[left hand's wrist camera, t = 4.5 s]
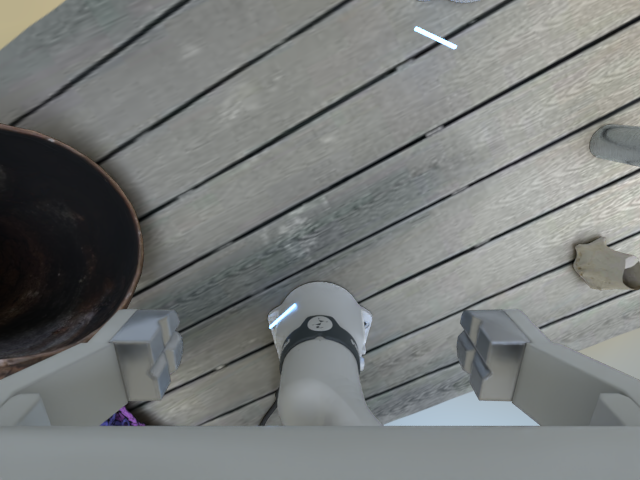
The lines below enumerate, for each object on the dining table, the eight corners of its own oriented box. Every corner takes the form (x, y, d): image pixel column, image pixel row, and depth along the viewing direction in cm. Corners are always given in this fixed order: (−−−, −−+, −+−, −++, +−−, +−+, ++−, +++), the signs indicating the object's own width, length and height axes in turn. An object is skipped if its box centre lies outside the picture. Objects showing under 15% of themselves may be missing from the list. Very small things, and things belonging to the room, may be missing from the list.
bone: (564, 240, 63) (576, 265, 55) (617, 227, 59) (639, 253, 51) (578, 284, 65) (591, 315, 57) (630, 275, 61) (653, 307, 53)
